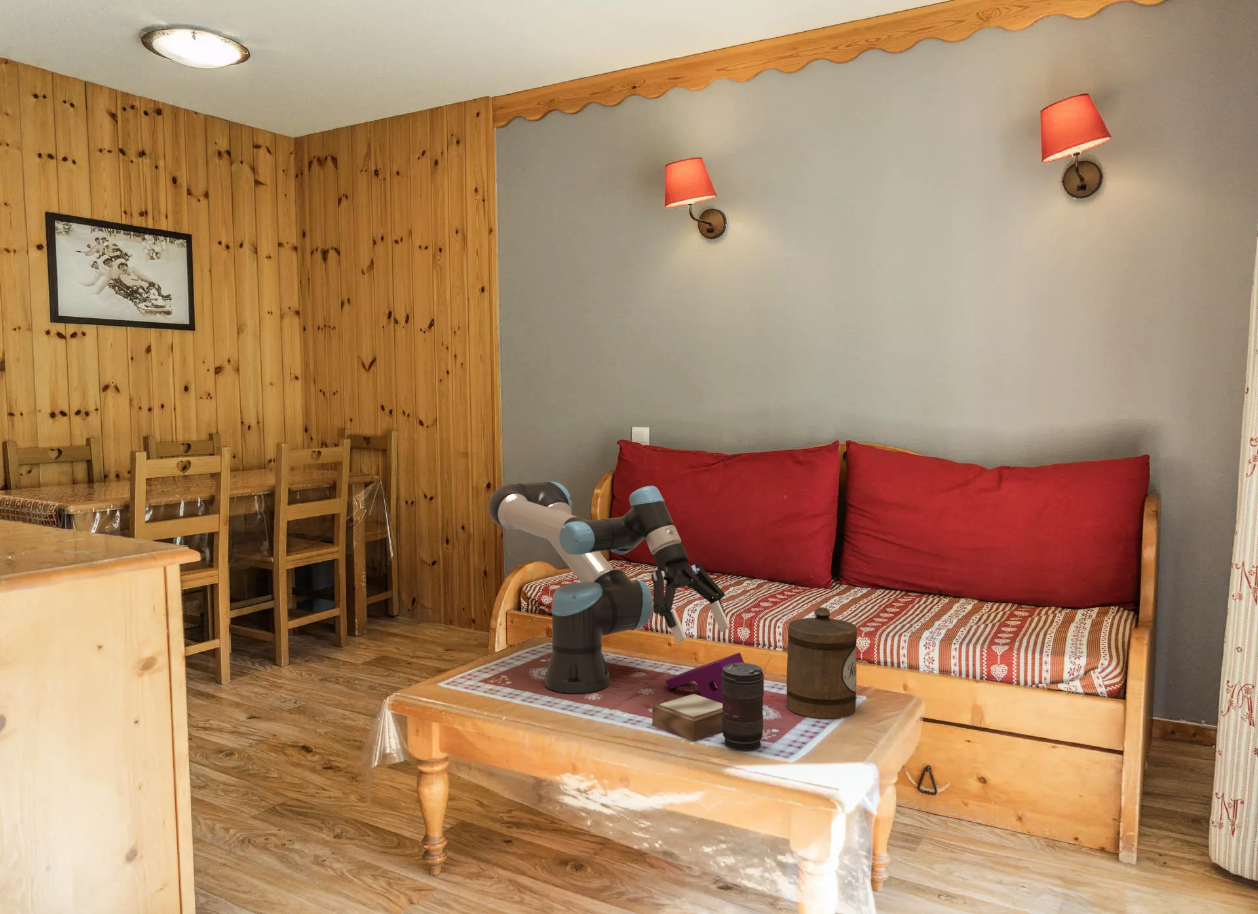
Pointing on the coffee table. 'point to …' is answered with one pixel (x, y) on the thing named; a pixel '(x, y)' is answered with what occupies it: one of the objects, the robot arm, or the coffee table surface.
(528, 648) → the coffee table surface
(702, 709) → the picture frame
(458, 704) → the coffee table surface
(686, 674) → the mounting bracket
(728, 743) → the camera lens
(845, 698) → the wooden container
